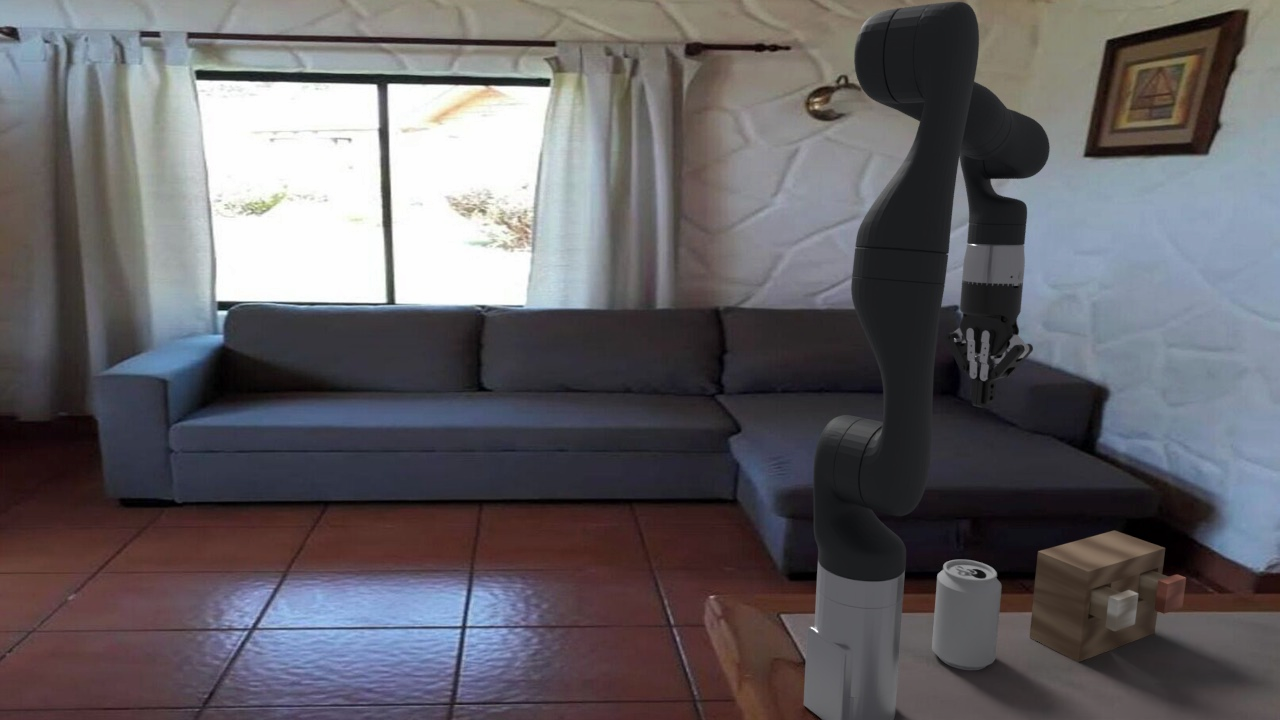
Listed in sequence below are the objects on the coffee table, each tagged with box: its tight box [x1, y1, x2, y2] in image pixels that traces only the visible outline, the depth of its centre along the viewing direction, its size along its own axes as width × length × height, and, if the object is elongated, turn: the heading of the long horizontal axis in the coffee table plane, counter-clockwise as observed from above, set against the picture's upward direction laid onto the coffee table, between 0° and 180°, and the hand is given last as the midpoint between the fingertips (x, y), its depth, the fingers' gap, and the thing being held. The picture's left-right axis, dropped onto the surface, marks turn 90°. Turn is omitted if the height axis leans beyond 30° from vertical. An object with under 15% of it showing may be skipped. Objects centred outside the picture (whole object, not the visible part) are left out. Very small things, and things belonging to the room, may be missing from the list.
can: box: [931, 559, 1002, 671], centre depth 107 cm, size 8×8×12 cm
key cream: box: [1089, 585, 1138, 631], centre depth 109 cm, size 4×9×4 cm, turn 29°
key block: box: [1029, 530, 1166, 663], centre depth 113 cm, size 16×7×12 cm, turn 119°
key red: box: [1138, 570, 1187, 615], centre depth 113 cm, size 4×9×4 cm, turn 29°
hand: (981, 406), depth 118 cm, fingers closed
